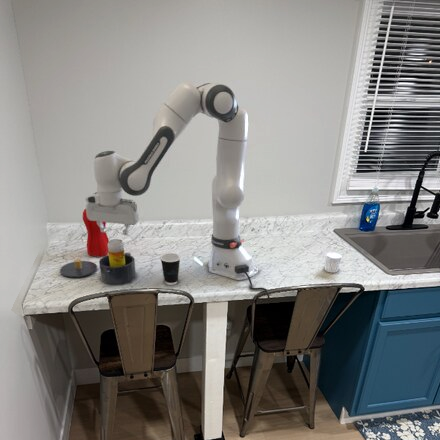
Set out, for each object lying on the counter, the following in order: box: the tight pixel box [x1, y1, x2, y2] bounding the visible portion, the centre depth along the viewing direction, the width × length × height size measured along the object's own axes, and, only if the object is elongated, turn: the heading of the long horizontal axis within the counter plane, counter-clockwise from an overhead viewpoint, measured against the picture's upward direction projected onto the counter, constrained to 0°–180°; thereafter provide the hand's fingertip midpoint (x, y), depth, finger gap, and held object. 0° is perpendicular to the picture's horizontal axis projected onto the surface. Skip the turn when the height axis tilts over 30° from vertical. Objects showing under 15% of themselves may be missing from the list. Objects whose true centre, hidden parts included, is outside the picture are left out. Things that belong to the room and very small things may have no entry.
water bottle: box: [82, 208, 110, 258], centre depth 179 cm, size 9×11×25 cm
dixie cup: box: [159, 252, 181, 286], centre depth 159 cm, size 8×8×11 cm
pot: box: [98, 252, 137, 286], centre depth 163 cm, size 14×19×8 cm
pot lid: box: [59, 258, 98, 278], centre depth 167 cm, size 15×15×5 cm
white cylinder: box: [324, 251, 343, 273], centre depth 175 cm, size 7×7×7 cm
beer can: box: [108, 238, 125, 267], centre depth 161 cm, size 6×6×15 cm
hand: (114, 233), depth 155 cm, fingers open, 8 cm apart
